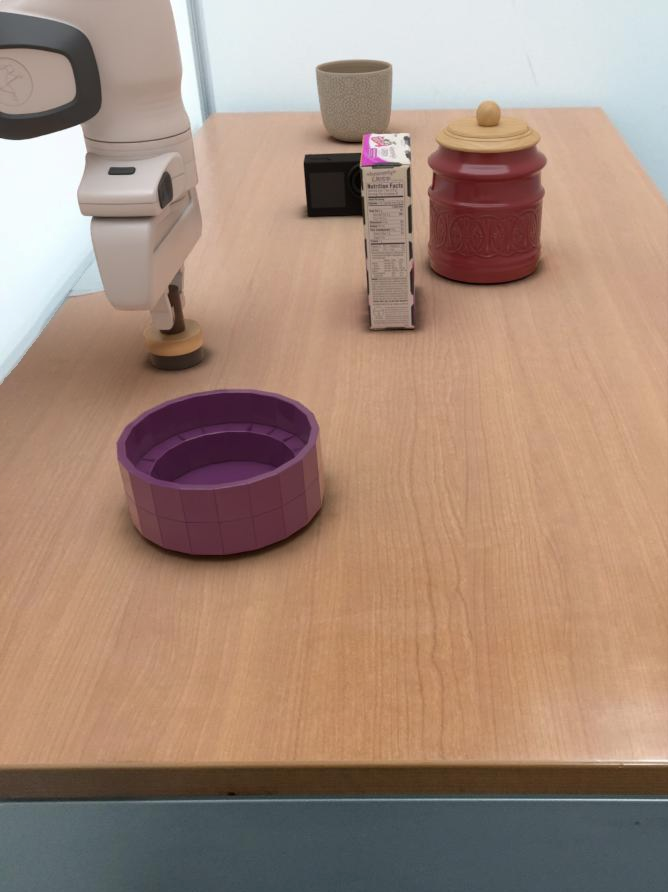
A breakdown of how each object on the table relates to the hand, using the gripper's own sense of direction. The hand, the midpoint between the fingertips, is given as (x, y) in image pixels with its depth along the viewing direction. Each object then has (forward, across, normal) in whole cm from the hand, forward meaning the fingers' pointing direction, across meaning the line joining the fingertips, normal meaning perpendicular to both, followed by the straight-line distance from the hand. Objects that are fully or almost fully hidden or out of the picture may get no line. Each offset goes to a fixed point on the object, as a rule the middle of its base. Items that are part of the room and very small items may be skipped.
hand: (170, 318), depth 90 cm
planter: (+4, -85, +10) cm, 86 cm away
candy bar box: (+4, -12, +20) cm, 24 cm away
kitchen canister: (+4, -25, +30) cm, 39 cm away
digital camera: (+4, -45, +12) cm, 47 cm away
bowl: (+4, +25, +10) cm, 27 cm away
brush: (+4, 0, 0) cm, 4 cm away
